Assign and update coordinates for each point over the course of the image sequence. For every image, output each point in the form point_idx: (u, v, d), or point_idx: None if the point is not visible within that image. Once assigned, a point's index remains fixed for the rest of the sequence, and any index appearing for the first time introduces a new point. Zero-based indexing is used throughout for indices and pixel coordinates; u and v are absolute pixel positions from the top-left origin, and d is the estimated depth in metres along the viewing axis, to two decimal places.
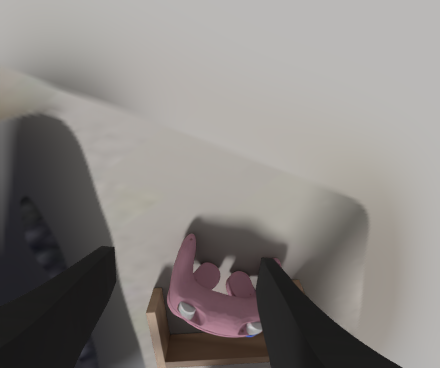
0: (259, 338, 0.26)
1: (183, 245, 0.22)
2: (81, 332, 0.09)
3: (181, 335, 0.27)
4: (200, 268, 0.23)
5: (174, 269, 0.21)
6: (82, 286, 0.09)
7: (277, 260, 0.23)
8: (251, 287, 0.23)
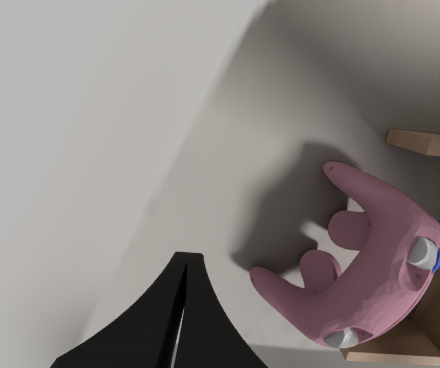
0: None
1: None
2: (174, 337, 0.10)
3: (419, 307, 0.19)
4: (303, 273, 0.16)
5: None
6: (178, 292, 0.09)
7: (325, 166, 0.14)
8: (359, 216, 0.14)
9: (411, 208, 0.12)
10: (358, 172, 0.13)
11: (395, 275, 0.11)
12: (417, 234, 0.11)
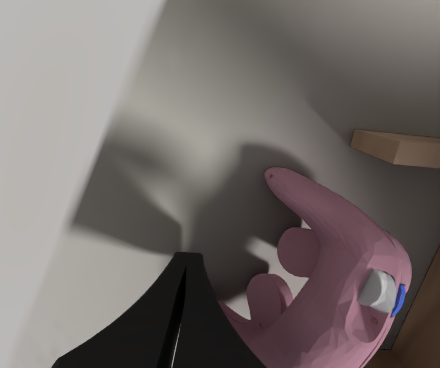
0: None
1: None
2: (174, 337, 0.10)
3: (399, 338, 0.16)
4: (250, 302, 0.13)
5: None
6: (178, 292, 0.09)
7: (266, 174, 0.11)
8: (311, 235, 0.12)
9: (364, 230, 0.09)
10: (303, 181, 0.10)
11: (341, 321, 0.08)
12: (369, 266, 0.08)
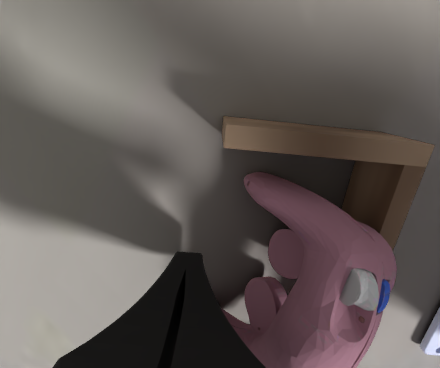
0: None
1: None
2: (175, 337, 0.10)
3: None
4: (248, 307, 0.13)
5: None
6: (179, 292, 0.09)
7: (244, 180, 0.11)
8: (297, 236, 0.11)
9: (341, 229, 0.09)
10: (279, 185, 0.10)
11: (326, 323, 0.08)
12: (348, 266, 0.08)
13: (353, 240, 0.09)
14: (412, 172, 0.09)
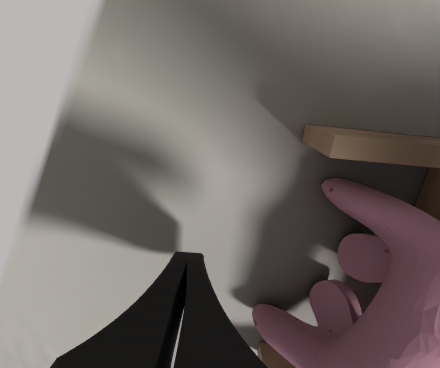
0: None
1: None
2: (174, 337, 0.10)
3: None
4: (315, 310, 0.14)
5: None
6: (178, 292, 0.09)
7: (324, 187, 0.11)
8: (374, 240, 0.12)
9: None
10: (365, 192, 0.10)
11: (429, 327, 0.09)
12: None
13: None
14: None
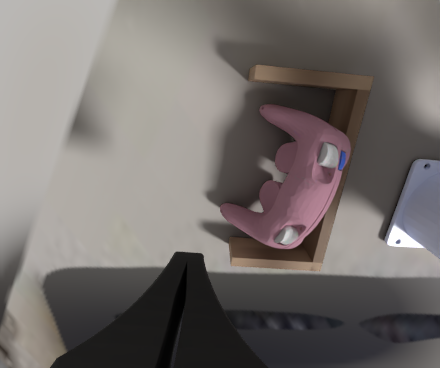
0: None
1: None
2: (174, 337, 0.10)
3: None
4: (262, 201, 0.20)
5: None
6: (178, 292, 0.09)
7: (260, 108, 0.18)
8: (293, 144, 0.18)
9: (318, 124, 0.15)
10: (282, 107, 0.17)
11: (309, 174, 0.15)
12: (321, 141, 0.15)
13: (324, 128, 0.15)
14: (363, 94, 0.16)
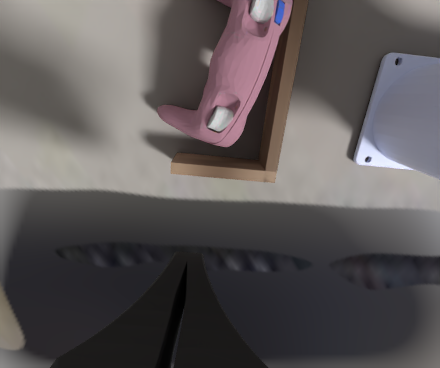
0: None
1: (164, 120, 0.17)
2: (174, 337, 0.10)
3: (261, 144, 0.19)
4: None
5: None
6: (178, 292, 0.09)
7: None
8: None
9: None
10: None
11: (239, 25, 0.12)
12: None
13: None
14: None
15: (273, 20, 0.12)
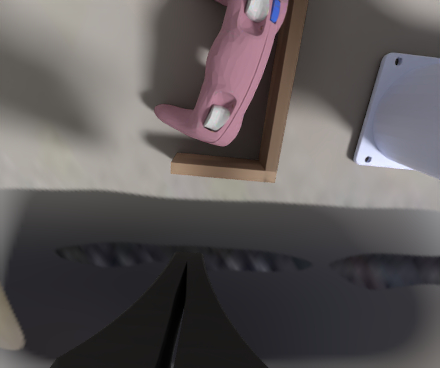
0: None
1: (161, 120, 0.17)
2: (174, 337, 0.10)
3: (261, 144, 0.19)
4: None
5: (184, 133, 0.17)
6: (178, 292, 0.09)
7: None
8: None
9: None
10: None
11: (235, 24, 0.12)
12: None
13: None
14: None
15: (269, 19, 0.12)
